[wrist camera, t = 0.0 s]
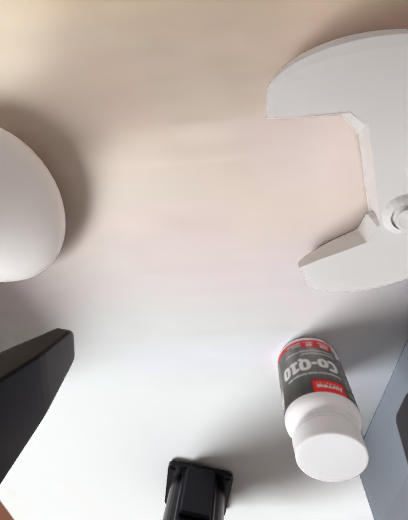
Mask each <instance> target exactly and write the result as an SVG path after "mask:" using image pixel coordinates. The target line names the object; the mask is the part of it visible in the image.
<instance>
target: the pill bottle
mask: <svg viewBox="0 0 408 520" xmlns="http://www.w3.org/2000/svg"><path fill="white" fill-rule="evenodd" d="M278 371H279V380H280V388H281V396H282V404H283V412H284V420H285V425H286V429H287V431H288V433H289V435H290V437H291V438H292V444H293V448H294V453H295V459H296V462H297V464H298V466H299V468H300V469H301V470H302V471H303V472H304V473H305V474H307V475H308V476H310V477H312V478H314V479H317V480H320V481H325V482H342V481H346V480H350V479H352V478H354V477H356V476H358V475H359V474H360V473H362V472H363V471H364V469H365V468H366V466H367V464H368V460H369V456H368V451H367V448H366V445H365V442H364V440H363V437H362V434H361V430H362V418H361V414H360V411H359V408H358V406H357V404H356V401H355V399H354V396H353V394H352V391H351V388H350V386H349V383H348V381H347V378H346V376H345V373H344V371H343V368H342V366H341V363H340V360H339V358H338V355H337V353H336V352H335V350H334V349H333V348H332V347H331V346H330V345H329V344H328V343H326V342H325V341H323V340H320V339H316V338H300V339H296V340H293V341H291V342H290V343H288V344H287V345H286V346H285V347H284V348H283V349H282V350H281V352H280V354H279V357H278Z"/></svg>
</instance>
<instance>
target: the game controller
mask: <svg viewBox="0 0 408 520" xmlns="http://www.w3.org/2000/svg"><path fill="white" fill-rule="evenodd" d="M330 115H341V116H343V117H344V118H345V119H346V121H347V122H348V123H349V124H350V126H351V127H352V128H353V130H354V131H355V132H356V133H357V134H358V136H359V143H360V151H361V158H362V166H363V173H364V181H365V188H366V196H367V203H368V211H369V213H367V214H365V216H364V218H363V220H362V222H361V223H360V225H359V227H358V228H357V229H355V230H353V231H351V232H349V233H347V234H345V235H342V236H340V237H338V238H336V239H334V240H332V241H330V242H328V243H326V244H324V245H322V246H321V247H319V248H317V249H315V250H314V251H312V252H310V253H309V254H308V255H306V256H305V257H303V258H302V259H301V260H300V261H299V263H298V266H299V268H300V270H301V272H302V274H303V276H304V279H305V281H306V283H307V285H309V286H310V287H312V288H314V289H317V290H322V291H327V292H335V293H349V292H360V291H366V290H372V289H376V288H380V287H384V286H387V285H391V284H394V283H397V282H400V281H402V280H405V279H408V29H386V30H377V31H369V32H363V33H358V34H353V35H348V36H345V37H341V38H338V39H334V40H331V41H329V42H326V43H323V44H321V45H318V46H316V47H314V48H312V49H310V50H308V51H305V52H304V53H302V54H300V55H299V56H297V57H295V58H294V59H292V60H291V61H290V62H288V63H287V64H286V65H285V66H283V67H282V68H281V69H280V70H279V71H278V72H277V74H276V75H275V76H274V78H273V79H272V80H271V82H270V84H269V86H268V89H267V118H268V119H291V118H306V117H319V116H330Z"/></svg>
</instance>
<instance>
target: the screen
mask: <svg viewBox="0 0 408 520" xmlns="http://www.w3.org/2000/svg"><path fill="white" fill-rule="evenodd" d="M407 393H408V340H407V342H406V345H405V347H404V349H403V351H402V354H401V356H400V358H399V361H398V363H397V365H396V367H395V370H394V372H393V374H392V376H391V379H390V381H389V383H388V385H387V388H386V390H385V392H384V395H383V397H382V399H381V401H380V404H379V406H378V408H377V410H376V413H375V415H374V417H373V420H372V422H371V424H370V426H369V429H368V431H367V433H366V435H365V438H364V442H365V445H366V448H367V451H368V456H369V460H368V464H367V466H366V468H365V469H364V471H363V472H362V473H360V474H359V475H360V478H361V481H362V484H363V487H364V490H365V493H366V496H367V499H368V502H369V505H370V508H371V511H372V514H373V517H374V520H408V464H407V460H406V457H405V453H404V450H403V446H402V443H401V439H400V435H399V432H398V428H397V425H396V414H397V412H398V410H399V408H400V406H401V403H402V401H403V399H404V397H405V395H406V394H407Z"/></svg>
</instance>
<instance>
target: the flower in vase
mask: <svg viewBox="0 0 408 520" xmlns="http://www.w3.org/2000/svg"><path fill="white" fill-rule="evenodd" d="M65 226H66V221H65V211H64V206H63V201H62V198H61V195H60V192H59V189H58V187H57V185H56V182H55V180H54V178H53V177H52V175H51V173H50V172H49V170H48V169H47V167H46V166H45V165H44V163H43V162H42V161H41V159H40V158H39V157H38V156H37V155H36V154H35V153H34V152H33V150H32V149H31V148H29V147H28V146H27V145H26V144H25V143H24V142H23V141H21V140H20V139H19V138H17V137H16V136H14V135H13V134H11V133H10V132H8V131H6V130H4V129H2V128H0V282H11V281H20V280H25V279H29V278H32V277H34V276H37V275H39V274H40V273H42V272H43V271H45V270H46V269H47V268H48V267H49V266H50V265H51V264H52V263H53V262H54V261H55V259H56V258H57V256H58V254H59V252H60V250H61V247H62V245H63V241H64V236H65Z"/></svg>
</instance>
